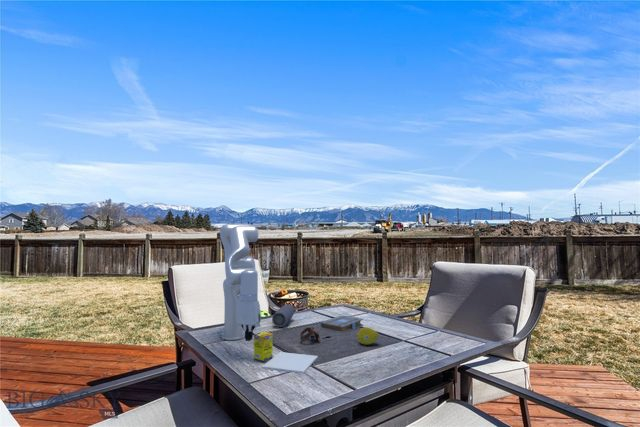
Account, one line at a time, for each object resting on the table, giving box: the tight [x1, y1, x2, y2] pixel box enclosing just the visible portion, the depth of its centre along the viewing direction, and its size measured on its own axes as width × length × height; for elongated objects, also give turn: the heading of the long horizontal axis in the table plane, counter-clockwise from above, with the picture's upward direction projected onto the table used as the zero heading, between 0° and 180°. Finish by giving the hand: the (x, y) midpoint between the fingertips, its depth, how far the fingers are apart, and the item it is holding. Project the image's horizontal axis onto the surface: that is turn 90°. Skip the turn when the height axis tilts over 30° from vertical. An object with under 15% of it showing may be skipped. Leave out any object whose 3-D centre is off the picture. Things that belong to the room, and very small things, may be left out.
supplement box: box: [253, 331, 274, 363], centre depth 151 cm, size 6×6×11 cm
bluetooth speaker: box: [271, 304, 295, 328], centre depth 210 cm, size 23×9×10 cm, turn 172°
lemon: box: [356, 327, 380, 346], centre depth 170 cm, size 11×8×8 cm
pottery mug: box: [299, 326, 321, 344], centre depth 176 cm, size 12×10×8 cm
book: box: [319, 315, 364, 334], centre depth 202 cm, size 21×16×5 cm
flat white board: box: [261, 351, 319, 374], centre depth 147 cm, size 18×18×1 cm
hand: (248, 339), depth 153 cm, fingers closed
